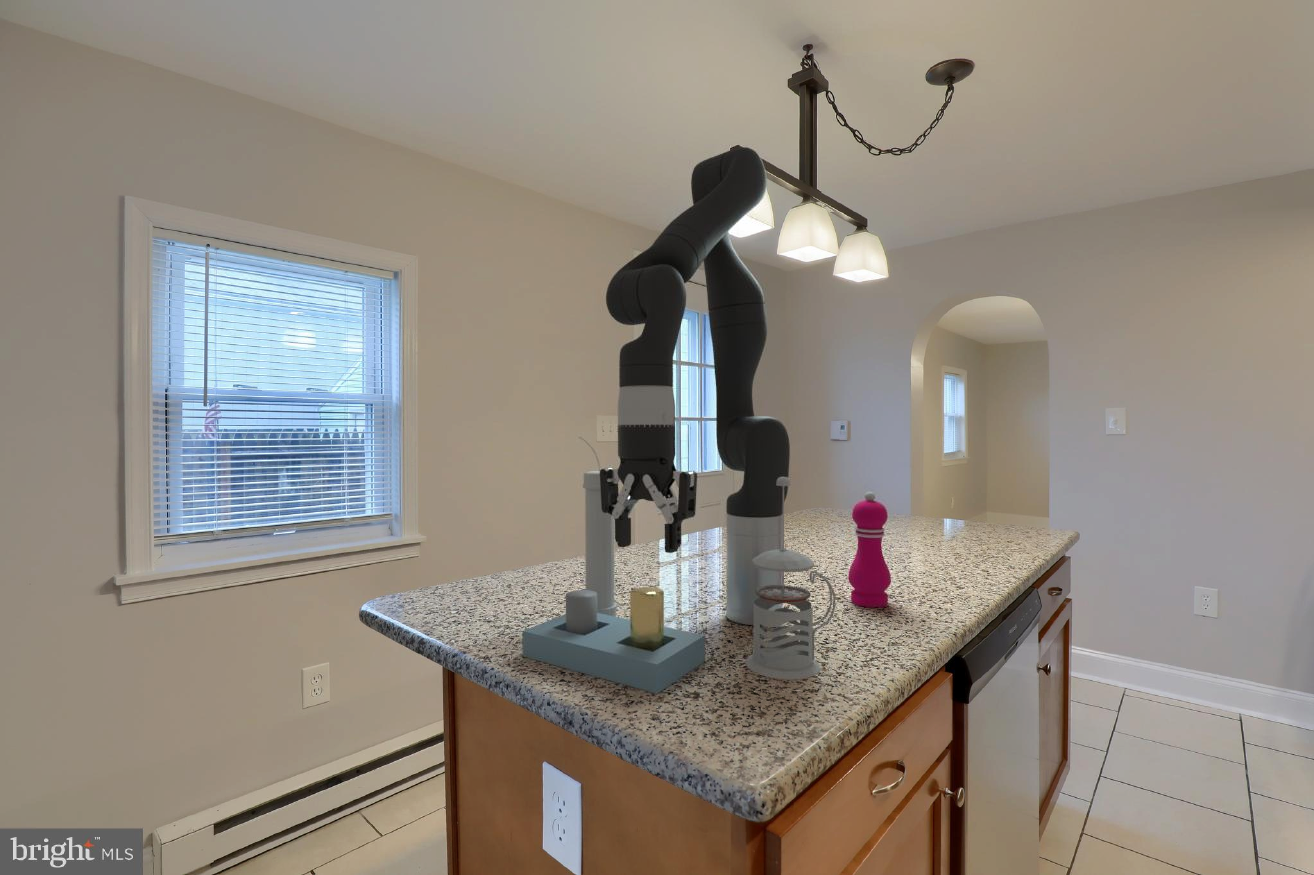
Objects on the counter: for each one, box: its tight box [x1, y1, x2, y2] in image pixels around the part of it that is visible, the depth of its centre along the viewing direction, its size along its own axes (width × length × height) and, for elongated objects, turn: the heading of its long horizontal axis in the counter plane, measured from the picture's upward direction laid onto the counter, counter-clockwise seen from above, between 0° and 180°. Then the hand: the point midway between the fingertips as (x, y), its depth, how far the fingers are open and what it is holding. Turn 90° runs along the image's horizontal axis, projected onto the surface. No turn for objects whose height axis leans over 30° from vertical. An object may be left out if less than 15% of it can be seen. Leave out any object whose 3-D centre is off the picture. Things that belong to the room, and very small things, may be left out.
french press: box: [745, 477, 836, 681], centre depth 81 cm, size 10×12×25 cm
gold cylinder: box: [629, 586, 665, 652], centre depth 80 cm, size 4×4×10 cm
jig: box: [522, 589, 706, 695], centre depth 83 cm, size 12×22×8 cm, turn 57°
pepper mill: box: [847, 491, 892, 608], centre depth 109 cm, size 7×7×20 cm
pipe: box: [578, 436, 618, 617], centre depth 99 cm, size 6×6×30 cm
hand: (647, 548), depth 80 cm, fingers open, 7 cm apart
